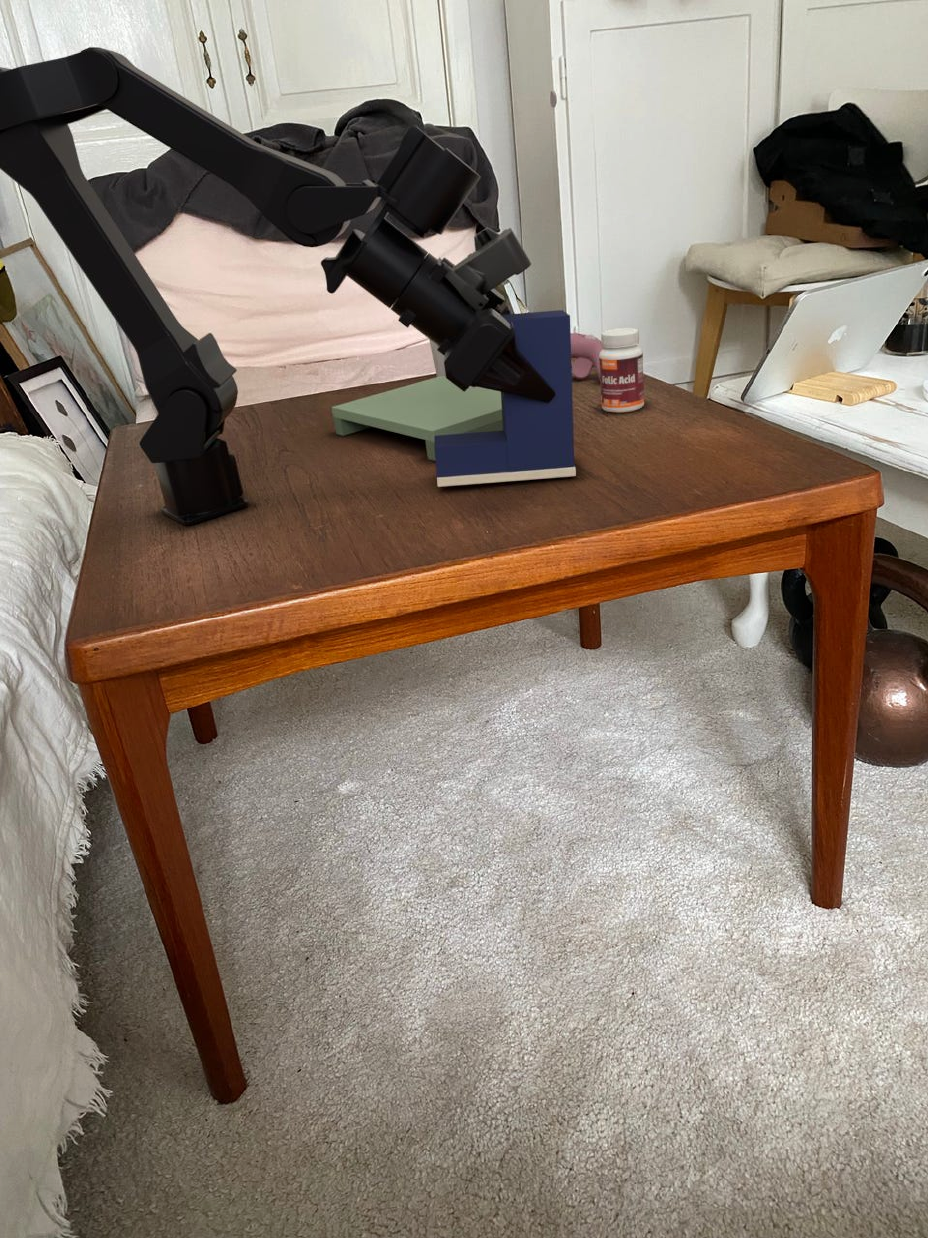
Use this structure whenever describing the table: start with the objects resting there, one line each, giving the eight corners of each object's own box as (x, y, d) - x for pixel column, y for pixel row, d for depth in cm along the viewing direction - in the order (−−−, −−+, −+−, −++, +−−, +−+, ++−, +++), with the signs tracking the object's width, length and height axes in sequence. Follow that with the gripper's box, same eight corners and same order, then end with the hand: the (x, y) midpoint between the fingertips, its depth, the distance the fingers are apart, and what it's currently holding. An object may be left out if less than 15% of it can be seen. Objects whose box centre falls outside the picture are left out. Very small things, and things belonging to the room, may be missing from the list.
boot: (437, 487, 86) (423, 327, 81) (437, 472, 91) (424, 320, 86) (576, 476, 86) (571, 315, 81) (568, 461, 91) (563, 309, 86)
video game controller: (609, 388, 121) (605, 334, 121) (609, 379, 117) (605, 323, 117) (531, 396, 123) (528, 342, 123) (529, 387, 118) (525, 331, 118)
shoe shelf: (436, 461, 96) (432, 430, 95) (336, 433, 111) (331, 406, 110) (552, 422, 105) (550, 393, 103) (444, 401, 119) (441, 375, 118)
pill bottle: (598, 414, 105) (594, 337, 101) (605, 402, 109) (601, 328, 106) (641, 412, 104) (638, 334, 100) (647, 401, 108) (644, 325, 104)
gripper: (465, 206, 70) (624, 336, 75) (466, 193, 87) (595, 300, 91) (380, 330, 74) (535, 446, 79) (396, 295, 91) (523, 392, 95)
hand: (550, 390), depth 86 cm, fingers closed on boot, 5 cm apart
